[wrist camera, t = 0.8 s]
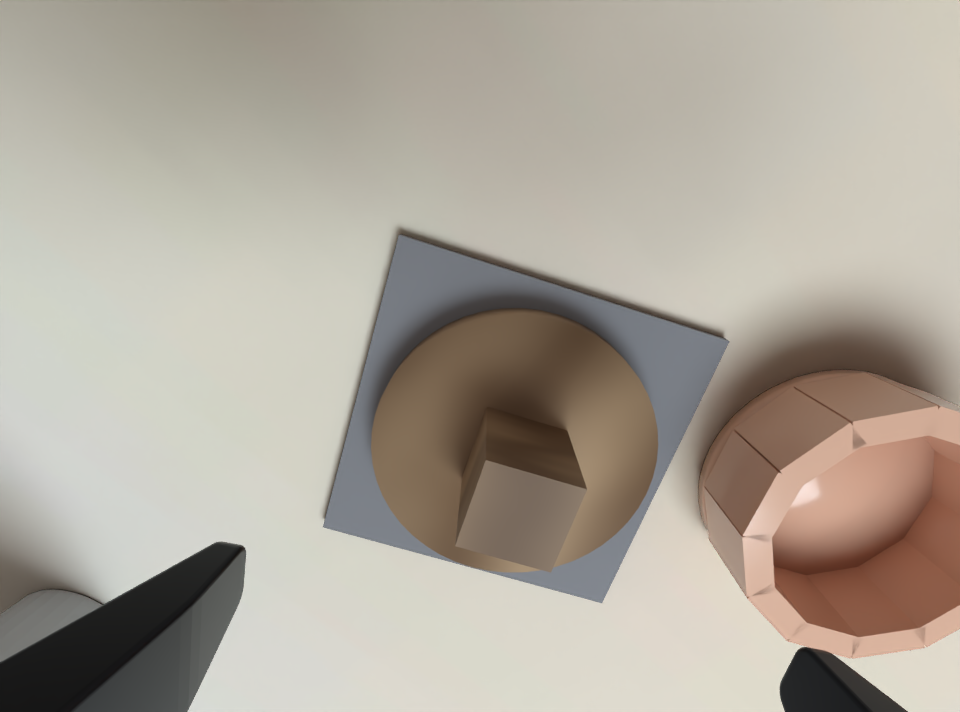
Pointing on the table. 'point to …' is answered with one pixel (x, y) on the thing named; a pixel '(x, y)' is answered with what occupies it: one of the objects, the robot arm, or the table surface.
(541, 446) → the lid
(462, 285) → the mat
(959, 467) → the bowl
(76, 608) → the coffee cup
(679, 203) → the table surface
